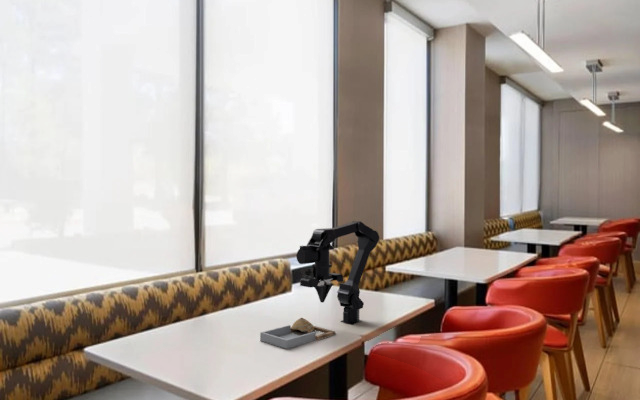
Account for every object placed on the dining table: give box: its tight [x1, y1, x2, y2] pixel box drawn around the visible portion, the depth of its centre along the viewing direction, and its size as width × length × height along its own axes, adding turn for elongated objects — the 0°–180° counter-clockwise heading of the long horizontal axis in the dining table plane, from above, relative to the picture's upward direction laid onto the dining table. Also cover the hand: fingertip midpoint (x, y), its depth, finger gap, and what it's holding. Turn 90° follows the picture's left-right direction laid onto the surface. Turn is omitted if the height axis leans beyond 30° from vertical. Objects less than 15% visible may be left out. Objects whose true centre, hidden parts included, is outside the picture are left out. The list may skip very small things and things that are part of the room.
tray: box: [259, 324, 317, 350], centre depth 176 cm, size 14×14×3 cm
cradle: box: [291, 325, 336, 341], centre depth 185 cm, size 9×16×2 cm, turn 46°
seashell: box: [291, 317, 315, 334], centre depth 186 cm, size 8×6×8 cm
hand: (322, 302), depth 189 cm, fingers closed
